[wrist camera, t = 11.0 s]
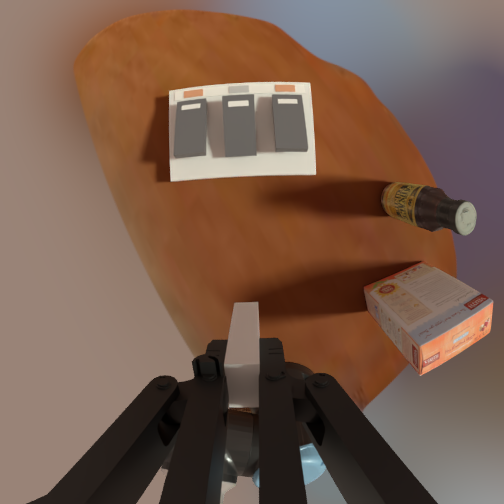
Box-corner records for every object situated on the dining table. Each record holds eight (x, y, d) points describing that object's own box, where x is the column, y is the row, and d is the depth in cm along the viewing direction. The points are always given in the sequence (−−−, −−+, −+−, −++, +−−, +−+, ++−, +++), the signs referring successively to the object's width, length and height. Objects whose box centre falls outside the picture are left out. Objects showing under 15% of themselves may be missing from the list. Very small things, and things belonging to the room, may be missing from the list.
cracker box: (367, 313, 48) (418, 379, 28) (362, 285, 47) (419, 345, 27) (426, 287, 47) (491, 334, 27) (423, 259, 46) (495, 299, 25)
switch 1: (206, 155, 37) (204, 151, 35) (176, 158, 37) (173, 154, 35) (207, 102, 37) (205, 97, 35) (179, 106, 37) (177, 101, 35)
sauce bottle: (382, 178, 42) (454, 178, 23) (410, 187, 42) (486, 194, 23) (375, 214, 44) (444, 236, 25) (403, 222, 44) (476, 247, 25)
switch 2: (306, 151, 36) (308, 147, 35) (275, 152, 36) (276, 147, 35) (300, 99, 37) (301, 94, 35) (271, 99, 37) (271, 94, 35)
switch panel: (312, 175, 43) (317, 174, 38) (176, 181, 43) (168, 181, 39) (306, 88, 39) (311, 80, 35) (174, 96, 39) (167, 88, 35)
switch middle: (256, 154, 39) (256, 155, 37) (226, 156, 39) (225, 157, 37) (253, 95, 35) (253, 94, 33) (223, 96, 35) (221, 95, 33)
